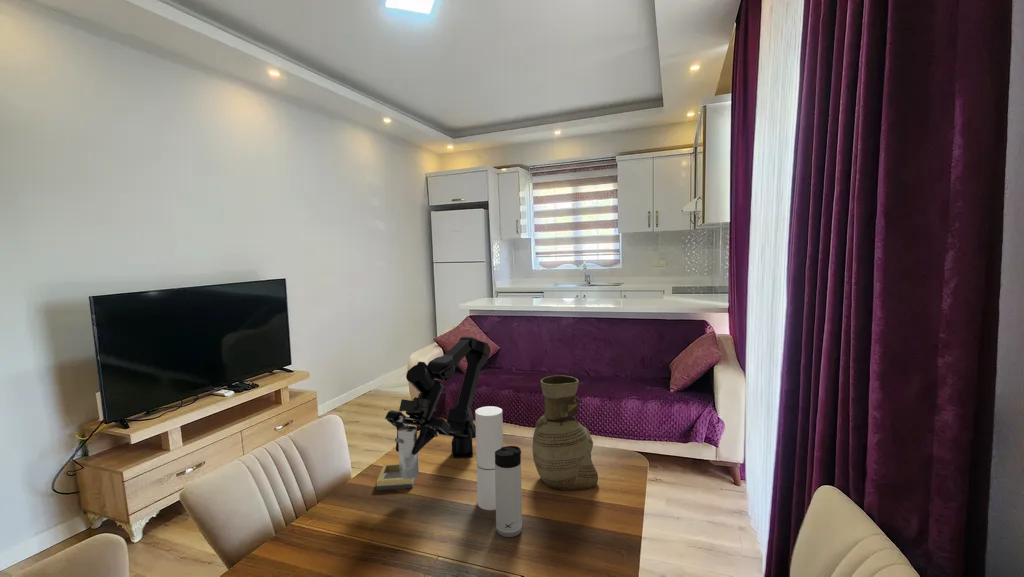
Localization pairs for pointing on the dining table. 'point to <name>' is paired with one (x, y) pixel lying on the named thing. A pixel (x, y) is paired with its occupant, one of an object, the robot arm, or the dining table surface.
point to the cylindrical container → (487, 453)
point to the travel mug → (508, 491)
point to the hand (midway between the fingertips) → (405, 452)
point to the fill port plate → (392, 478)
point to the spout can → (407, 452)
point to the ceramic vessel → (563, 438)
